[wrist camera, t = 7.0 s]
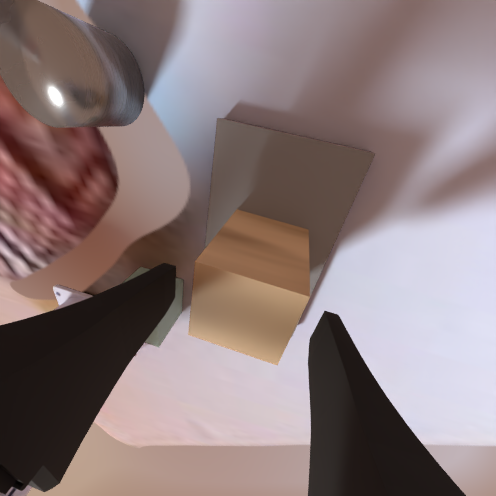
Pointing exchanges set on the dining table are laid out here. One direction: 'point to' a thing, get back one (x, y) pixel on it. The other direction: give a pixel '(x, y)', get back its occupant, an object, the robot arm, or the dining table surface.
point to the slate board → (285, 183)
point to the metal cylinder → (67, 68)
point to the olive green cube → (170, 316)
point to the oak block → (251, 286)
